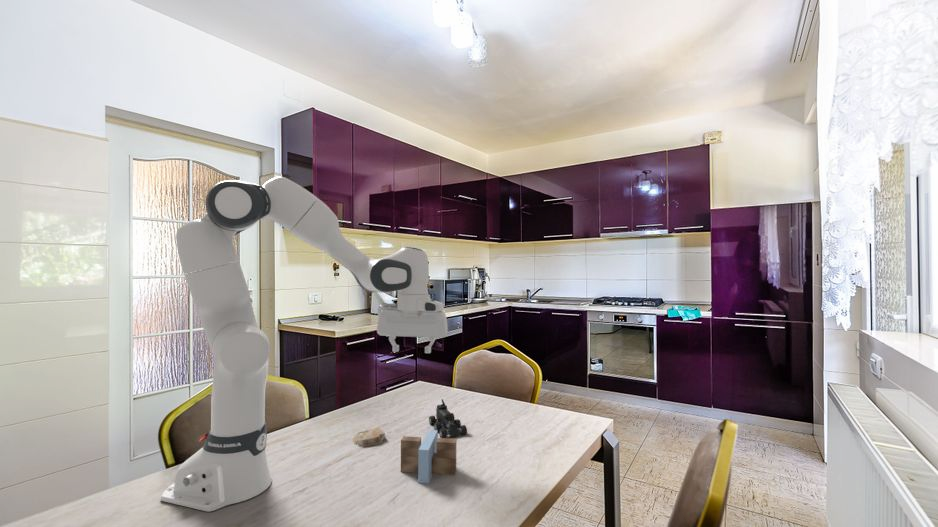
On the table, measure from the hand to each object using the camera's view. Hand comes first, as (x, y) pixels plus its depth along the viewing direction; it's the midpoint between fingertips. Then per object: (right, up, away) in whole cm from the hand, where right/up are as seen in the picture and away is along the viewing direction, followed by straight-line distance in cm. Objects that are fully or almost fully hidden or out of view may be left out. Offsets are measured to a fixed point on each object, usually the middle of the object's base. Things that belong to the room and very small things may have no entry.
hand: (411, 352), depth 115 cm
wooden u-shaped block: (+6, -28, -12) cm, 31 cm away
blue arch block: (+6, -28, -12) cm, 31 cm away
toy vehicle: (+9, -29, +15) cm, 34 cm away
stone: (-14, -29, +6) cm, 32 cm away
